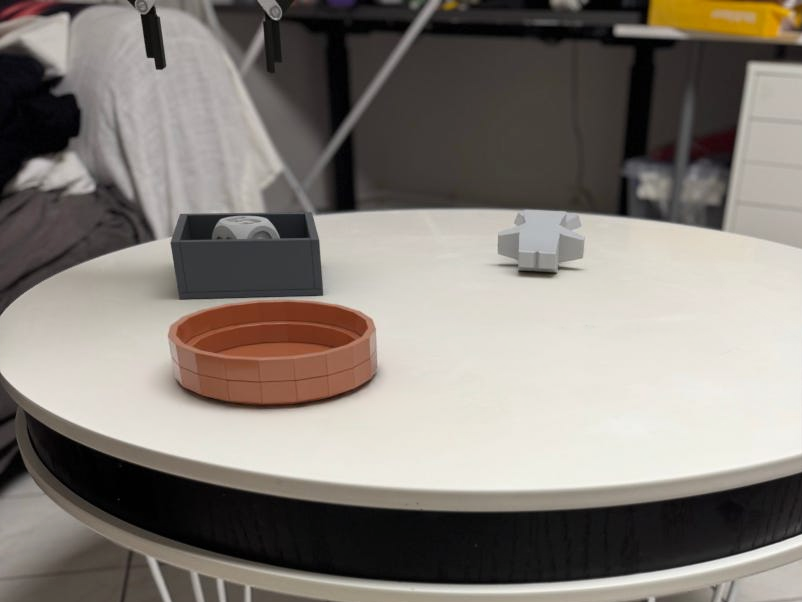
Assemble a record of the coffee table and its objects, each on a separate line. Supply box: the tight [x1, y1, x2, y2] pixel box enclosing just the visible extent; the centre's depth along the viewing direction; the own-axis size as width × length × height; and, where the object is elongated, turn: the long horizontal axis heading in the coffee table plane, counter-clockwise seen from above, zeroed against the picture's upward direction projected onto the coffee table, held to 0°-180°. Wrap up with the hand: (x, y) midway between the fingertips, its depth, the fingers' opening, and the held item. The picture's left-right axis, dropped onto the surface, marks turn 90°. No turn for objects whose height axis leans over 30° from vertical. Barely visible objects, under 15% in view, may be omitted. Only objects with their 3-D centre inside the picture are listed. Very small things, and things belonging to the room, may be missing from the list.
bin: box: [170, 211, 324, 300], centre depth 92 cm, size 14×14×5 cm
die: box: [212, 216, 280, 240], centre depth 91 cm, size 5×5×5 cm
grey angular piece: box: [497, 209, 586, 274], centre depth 101 cm, size 10×5×15 cm
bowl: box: [167, 299, 379, 406], centre depth 69 cm, size 15×15×4 cm
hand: (216, 70), depth 82 cm, fingers open, 9 cm apart
